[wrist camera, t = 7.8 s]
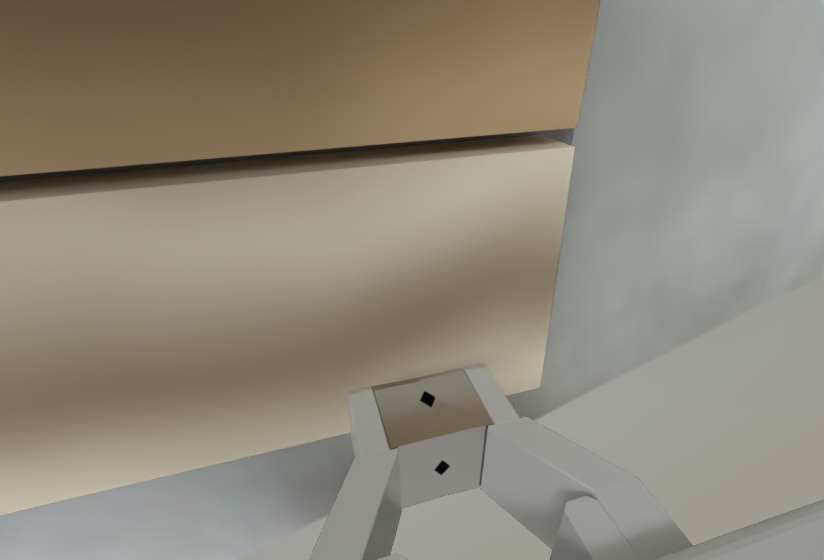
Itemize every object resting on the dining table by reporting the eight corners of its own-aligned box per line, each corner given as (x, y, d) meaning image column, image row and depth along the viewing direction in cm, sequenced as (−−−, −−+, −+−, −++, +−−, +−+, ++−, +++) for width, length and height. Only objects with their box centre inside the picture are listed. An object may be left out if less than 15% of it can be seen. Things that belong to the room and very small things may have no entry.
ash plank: (-798, 250, 6) (-1068, 303, 5) (539, 135, 11) (575, 147, 10) (-373, 549, 10) (-469, 626, 8) (515, 357, 15) (540, 388, 13)
